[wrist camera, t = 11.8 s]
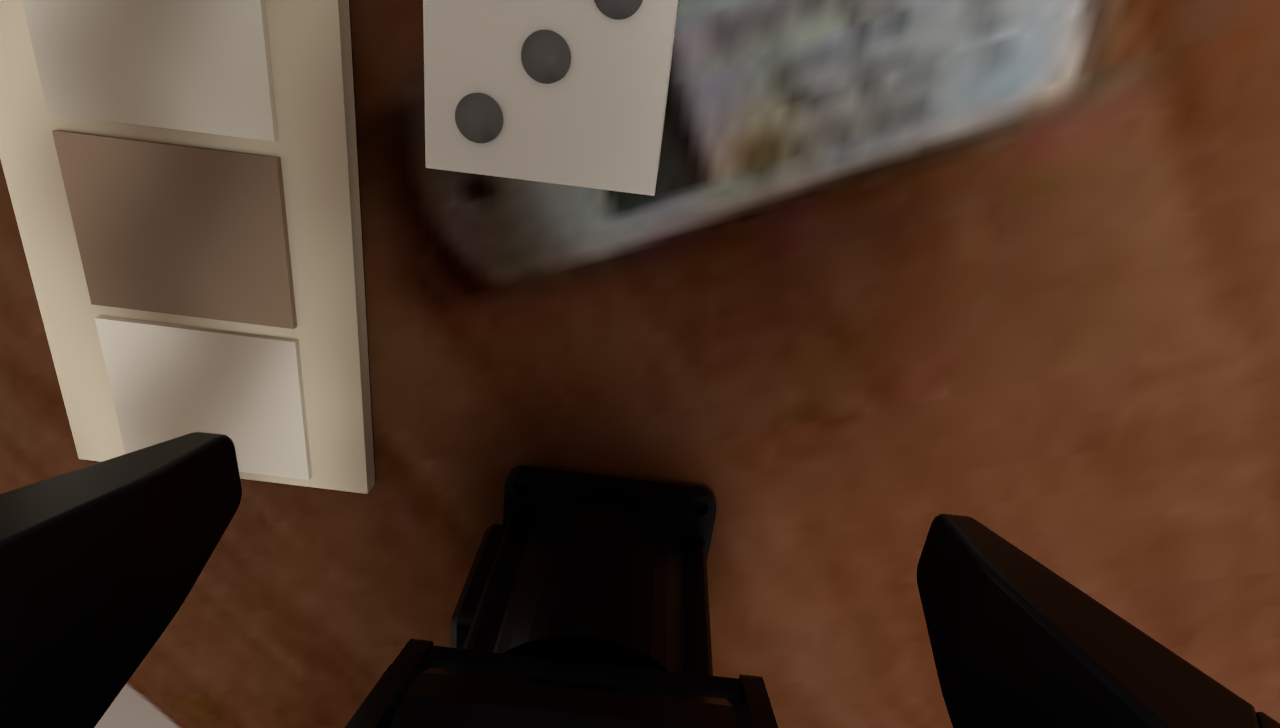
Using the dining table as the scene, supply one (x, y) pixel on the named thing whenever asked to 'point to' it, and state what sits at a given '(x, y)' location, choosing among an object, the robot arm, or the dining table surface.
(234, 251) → the game strip
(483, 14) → the die
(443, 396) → the dining table surface
